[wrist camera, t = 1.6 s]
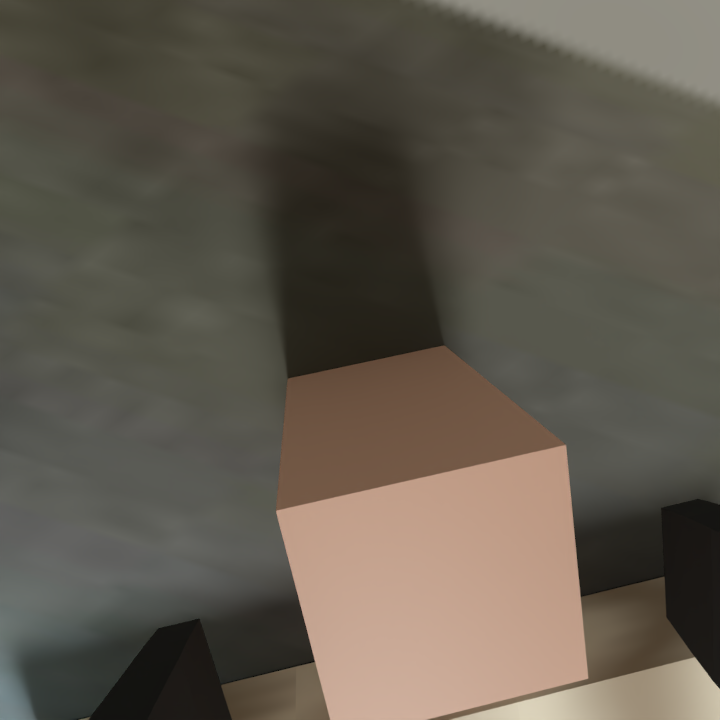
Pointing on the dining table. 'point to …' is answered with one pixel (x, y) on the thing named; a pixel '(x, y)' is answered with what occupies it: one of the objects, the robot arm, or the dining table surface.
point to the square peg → (427, 539)
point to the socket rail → (559, 704)
